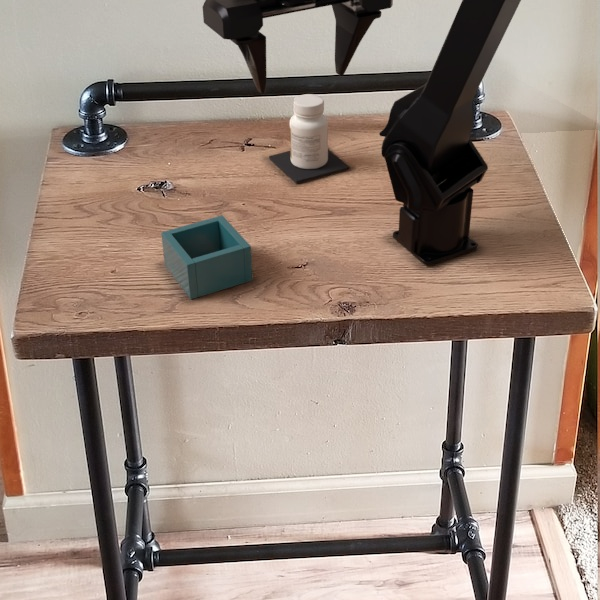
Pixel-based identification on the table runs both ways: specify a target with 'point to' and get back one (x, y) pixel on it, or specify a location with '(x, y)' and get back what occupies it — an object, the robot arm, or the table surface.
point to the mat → (305, 175)
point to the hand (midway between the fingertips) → (301, 82)
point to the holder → (207, 256)
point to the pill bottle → (308, 132)
